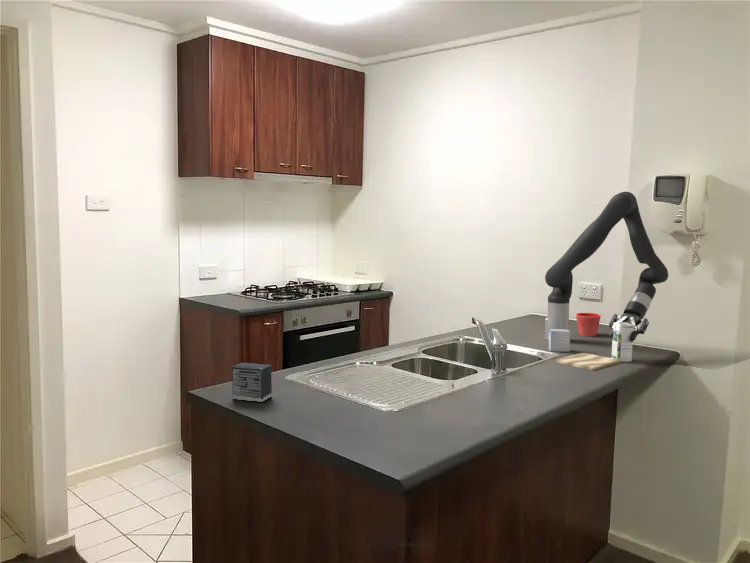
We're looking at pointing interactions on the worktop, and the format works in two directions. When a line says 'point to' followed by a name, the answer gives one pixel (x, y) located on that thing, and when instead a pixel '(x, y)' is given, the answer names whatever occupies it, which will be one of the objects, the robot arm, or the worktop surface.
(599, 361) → the birch board
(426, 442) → the worktop surface
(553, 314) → the robot arm
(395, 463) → the worktop surface
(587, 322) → the flower pot
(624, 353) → the syrup box
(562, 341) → the medicine box
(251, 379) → the small box
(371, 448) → the worktop surface
